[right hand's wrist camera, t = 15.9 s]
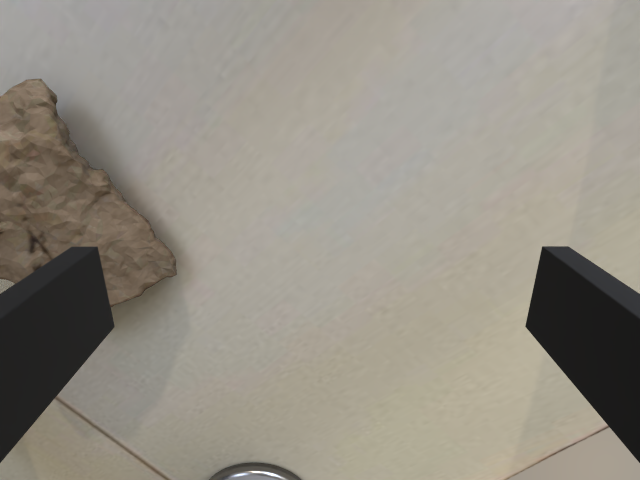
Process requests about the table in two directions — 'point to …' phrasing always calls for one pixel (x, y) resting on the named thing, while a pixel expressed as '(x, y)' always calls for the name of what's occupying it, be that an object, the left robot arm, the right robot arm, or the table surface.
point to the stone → (66, 202)
